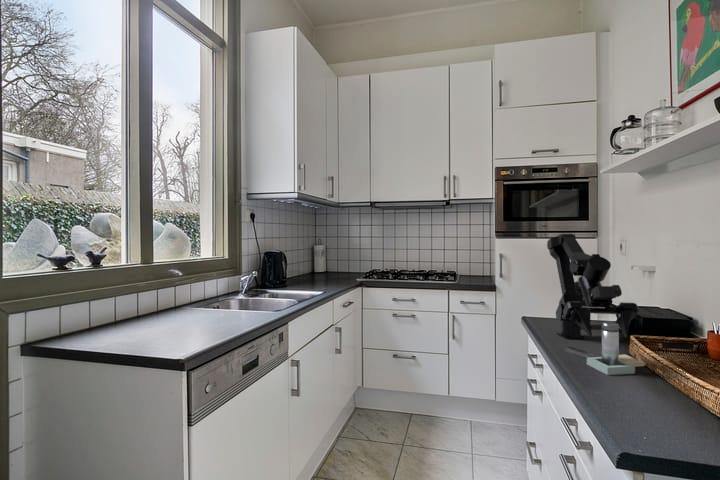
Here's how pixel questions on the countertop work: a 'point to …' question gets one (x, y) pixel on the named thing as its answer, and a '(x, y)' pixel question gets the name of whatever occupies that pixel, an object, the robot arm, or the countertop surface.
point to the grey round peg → (610, 343)
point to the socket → (611, 370)
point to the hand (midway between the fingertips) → (608, 336)
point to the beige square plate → (631, 360)
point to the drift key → (579, 352)
